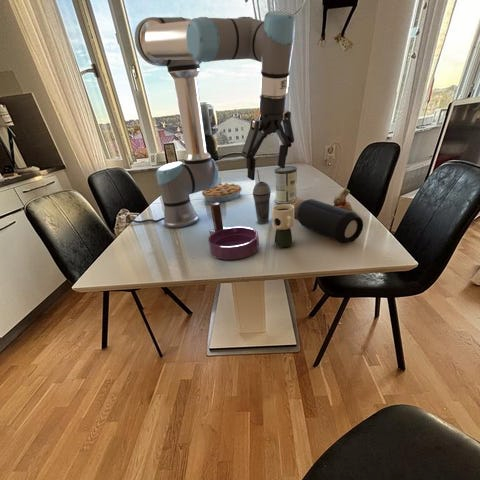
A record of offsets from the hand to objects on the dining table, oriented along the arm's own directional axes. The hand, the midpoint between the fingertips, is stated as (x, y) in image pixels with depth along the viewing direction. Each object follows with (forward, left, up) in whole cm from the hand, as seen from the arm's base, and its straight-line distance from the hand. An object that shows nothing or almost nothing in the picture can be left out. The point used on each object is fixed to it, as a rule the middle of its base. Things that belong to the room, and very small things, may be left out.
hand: (266, 172), depth 95 cm
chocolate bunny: (+17, +31, -22) cm, 41 cm away
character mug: (+10, -7, -22) cm, 25 cm away
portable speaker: (+20, +8, -22) cm, 30 cm away
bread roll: (+1, +23, -22) cm, 31 cm away
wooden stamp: (-17, -10, -21) cm, 29 cm away
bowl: (-4, -17, -21) cm, 28 cm away
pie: (-51, +35, -22) cm, 65 cm away
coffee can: (-14, +39, -22) cm, 46 cm away
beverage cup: (-9, +10, -22) cm, 25 cm away
